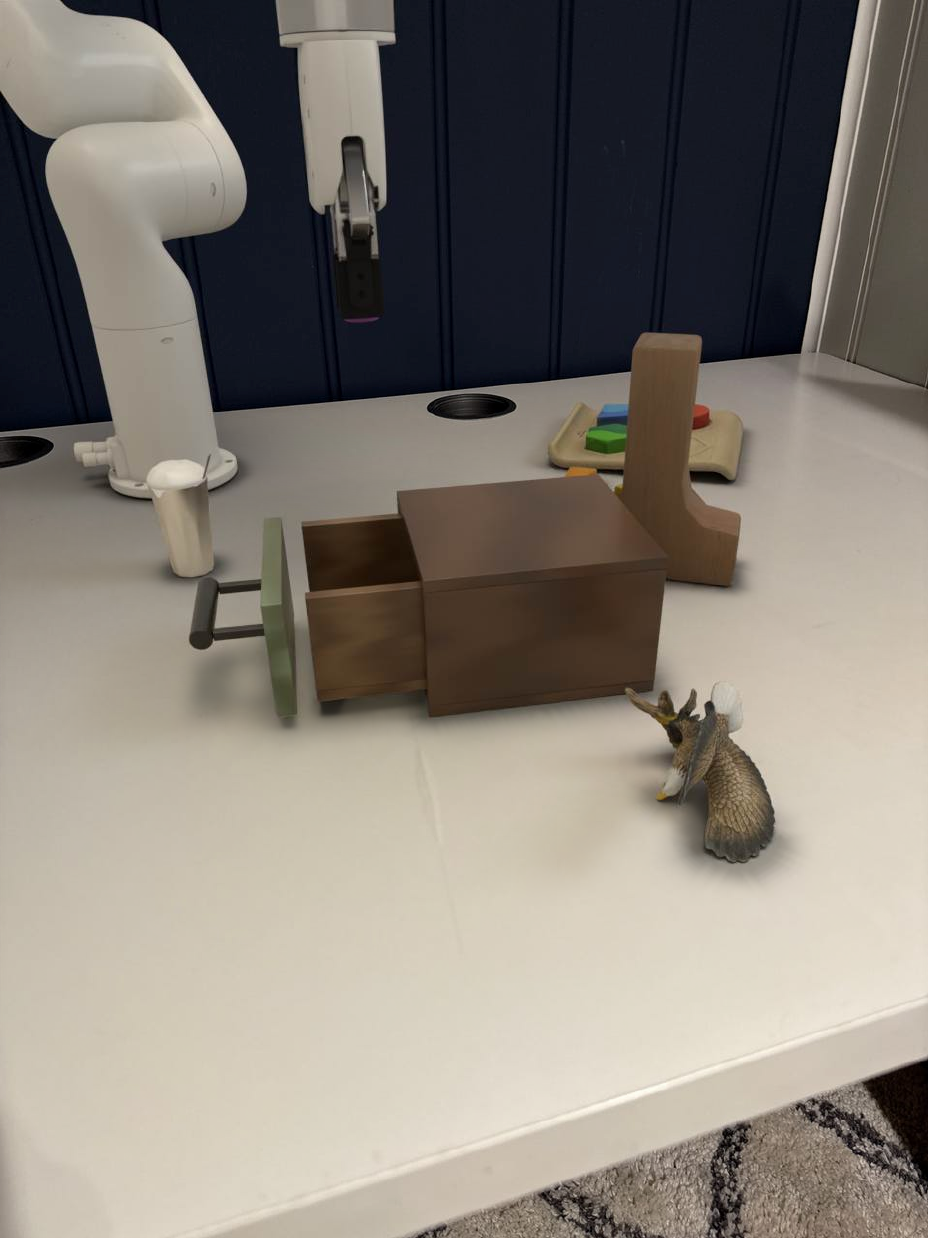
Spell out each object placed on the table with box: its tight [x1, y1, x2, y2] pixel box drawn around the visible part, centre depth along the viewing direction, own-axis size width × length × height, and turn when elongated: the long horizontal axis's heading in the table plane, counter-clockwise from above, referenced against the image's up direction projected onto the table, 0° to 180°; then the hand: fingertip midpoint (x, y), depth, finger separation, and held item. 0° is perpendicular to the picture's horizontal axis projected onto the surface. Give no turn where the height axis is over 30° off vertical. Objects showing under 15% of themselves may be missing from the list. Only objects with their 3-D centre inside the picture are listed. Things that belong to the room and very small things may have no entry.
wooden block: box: [621, 332, 742, 587], centre depth 68 cm, size 9×4×18 cm, turn 73°
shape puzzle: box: [547, 401, 744, 500], centre depth 93 cm, size 25×19×3 cm
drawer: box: [188, 512, 427, 718], centre depth 58 cm, size 18×12×8 cm
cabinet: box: [396, 473, 668, 718], centre depth 60 cm, size 15×14×10 cm
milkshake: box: [146, 454, 215, 579], centre depth 71 cm, size 4×5×10 cm
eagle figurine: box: [624, 681, 776, 863], centre depth 47 cm, size 8×7×9 cm
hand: (360, 310), depth 67 cm, fingers closed on glue stick, 2 cm apart
